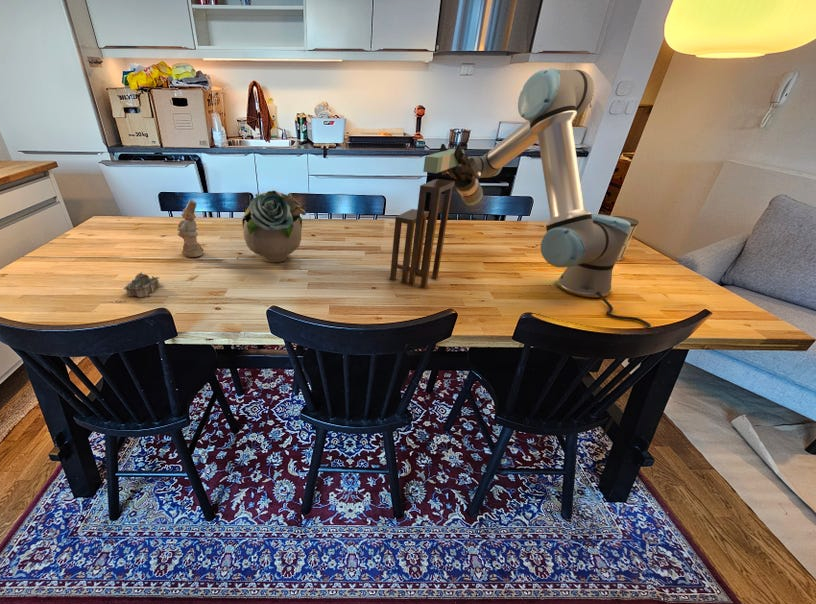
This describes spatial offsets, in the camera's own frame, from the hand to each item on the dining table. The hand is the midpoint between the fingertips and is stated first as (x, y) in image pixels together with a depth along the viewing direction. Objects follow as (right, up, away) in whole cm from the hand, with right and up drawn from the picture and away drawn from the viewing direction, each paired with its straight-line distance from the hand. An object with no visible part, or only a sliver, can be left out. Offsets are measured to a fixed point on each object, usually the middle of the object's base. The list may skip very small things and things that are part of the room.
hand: (449, 149), depth 117 cm
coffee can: (+74, -22, +39) cm, 87 cm away
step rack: (-6, -34, +20) cm, 40 cm away
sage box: (-1, -5, +1) cm, 5 cm away
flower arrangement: (-57, -24, +34) cm, 71 cm away
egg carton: (-95, -40, +10) cm, 104 cm away
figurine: (-89, -21, +37) cm, 99 cm away
